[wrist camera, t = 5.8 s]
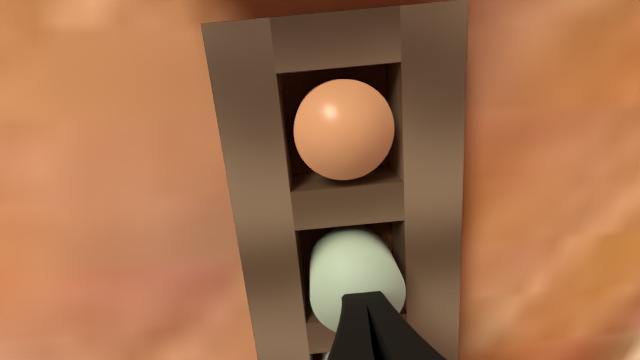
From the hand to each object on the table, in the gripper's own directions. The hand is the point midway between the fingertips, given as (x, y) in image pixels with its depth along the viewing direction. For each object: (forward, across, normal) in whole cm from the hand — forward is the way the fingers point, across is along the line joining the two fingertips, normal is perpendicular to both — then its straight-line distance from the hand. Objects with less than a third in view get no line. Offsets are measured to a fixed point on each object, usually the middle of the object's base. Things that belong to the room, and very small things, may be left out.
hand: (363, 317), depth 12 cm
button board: (+5, 0, 0) cm, 5 cm away
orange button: (+5, 0, -6) cm, 8 cm away
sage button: (+4, 0, 0) cm, 4 cm away
